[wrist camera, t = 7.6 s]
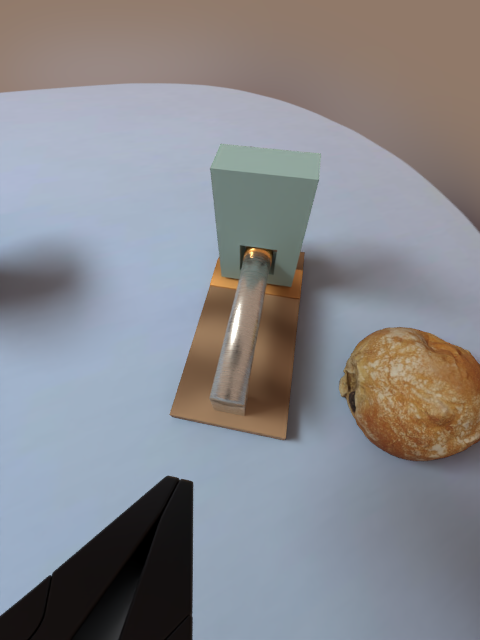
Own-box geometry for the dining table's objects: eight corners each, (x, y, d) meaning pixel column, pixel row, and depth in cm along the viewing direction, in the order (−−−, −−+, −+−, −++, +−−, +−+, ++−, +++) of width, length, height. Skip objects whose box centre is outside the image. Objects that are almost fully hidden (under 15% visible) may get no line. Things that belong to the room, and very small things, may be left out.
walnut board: (283, 440, 21) (285, 438, 20) (172, 417, 22) (169, 414, 21) (302, 258, 30) (304, 251, 29) (224, 248, 31) (223, 240, 30)
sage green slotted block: (291, 287, 26) (318, 179, 17) (221, 276, 27) (210, 168, 18) (294, 264, 28) (320, 153, 18) (227, 254, 29) (220, 144, 19)
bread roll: (331, 361, 28) (315, 334, 21) (440, 326, 25) (461, 283, 18) (371, 468, 23) (367, 475, 17) (513, 441, 20) (576, 438, 14)
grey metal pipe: (245, 416, 21) (245, 401, 17) (213, 409, 21) (205, 393, 17) (275, 248, 30) (280, 211, 26) (252, 245, 30) (253, 208, 26)
